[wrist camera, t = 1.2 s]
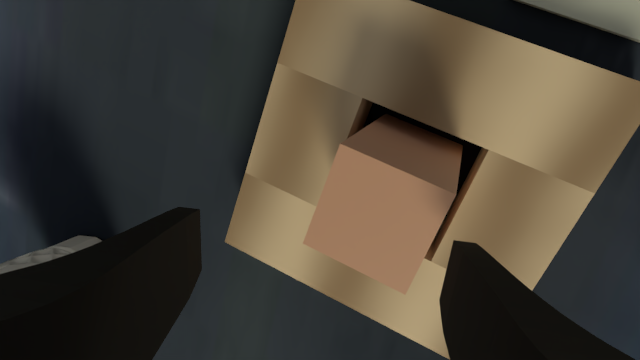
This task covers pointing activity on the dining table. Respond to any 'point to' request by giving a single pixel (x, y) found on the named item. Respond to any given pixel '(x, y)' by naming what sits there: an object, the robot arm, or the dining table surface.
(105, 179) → the dining table surface
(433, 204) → the terracotta block
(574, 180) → the pocket block
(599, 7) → the mat
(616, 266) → the dining table surface
